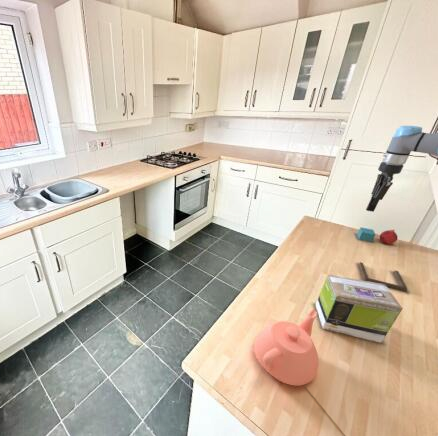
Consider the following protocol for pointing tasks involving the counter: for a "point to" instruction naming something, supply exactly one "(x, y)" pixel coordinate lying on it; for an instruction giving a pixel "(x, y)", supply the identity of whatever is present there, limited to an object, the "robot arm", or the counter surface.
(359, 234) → the teal block
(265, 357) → the teapot
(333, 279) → the tea box
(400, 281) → the frame
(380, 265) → the counter surface
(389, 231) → the onion
